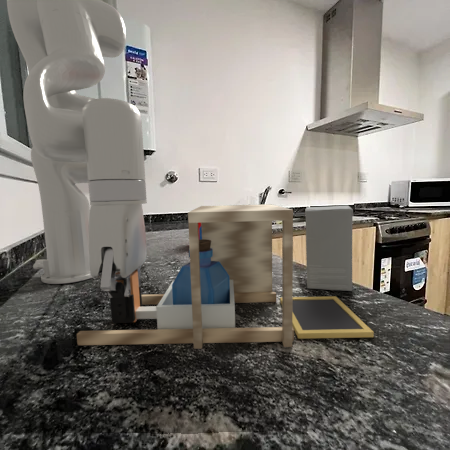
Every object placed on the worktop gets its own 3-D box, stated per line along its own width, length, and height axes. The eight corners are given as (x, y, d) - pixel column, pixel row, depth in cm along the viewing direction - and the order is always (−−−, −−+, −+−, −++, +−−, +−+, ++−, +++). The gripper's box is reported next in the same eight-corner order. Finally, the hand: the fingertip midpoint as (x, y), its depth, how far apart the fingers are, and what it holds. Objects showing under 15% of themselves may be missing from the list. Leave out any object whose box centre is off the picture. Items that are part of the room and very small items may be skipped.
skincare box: (348, 281, 54) (350, 205, 52) (352, 294, 47) (355, 207, 45) (305, 278, 57) (306, 205, 55) (304, 289, 50) (305, 207, 48)
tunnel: (193, 348, 32) (187, 212, 30) (204, 298, 47) (201, 206, 45) (292, 346, 32) (293, 209, 30) (271, 297, 47) (270, 204, 45)
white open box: (102, 337, 34) (97, 286, 34) (130, 304, 44) (127, 264, 44) (235, 334, 34) (234, 283, 33) (233, 302, 44) (232, 262, 43)
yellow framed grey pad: (298, 338, 33) (298, 333, 33) (280, 301, 45) (280, 297, 45) (373, 337, 33) (373, 332, 33) (335, 300, 45) (336, 296, 45)
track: (77, 345, 33) (76, 334, 33) (119, 303, 46) (118, 295, 46) (293, 341, 33) (294, 330, 33) (275, 300, 46) (275, 291, 45)
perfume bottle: (213, 334, 35) (210, 246, 33) (174, 326, 37) (169, 244, 36) (230, 314, 40) (228, 238, 39) (195, 308, 43) (192, 236, 41)
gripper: (116, 194, 45) (123, 296, 47) (56, 195, 29) (72, 348, 31) (159, 193, 45) (165, 295, 47) (123, 193, 29) (134, 347, 31)
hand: (127, 315), depth 39 cm, fingers closed on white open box, 2 cm apart
